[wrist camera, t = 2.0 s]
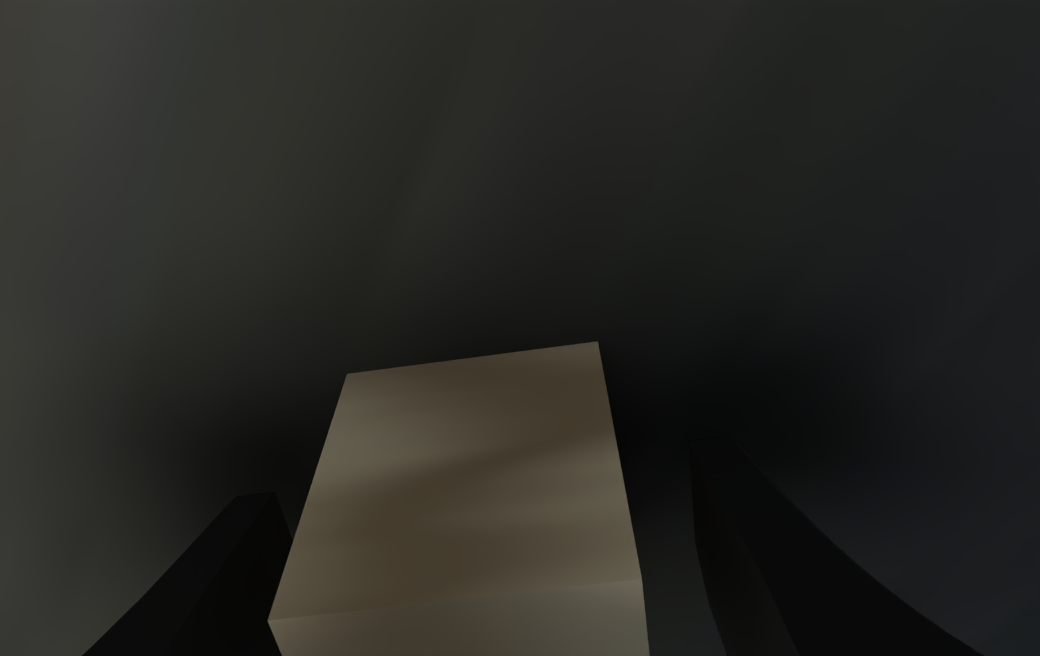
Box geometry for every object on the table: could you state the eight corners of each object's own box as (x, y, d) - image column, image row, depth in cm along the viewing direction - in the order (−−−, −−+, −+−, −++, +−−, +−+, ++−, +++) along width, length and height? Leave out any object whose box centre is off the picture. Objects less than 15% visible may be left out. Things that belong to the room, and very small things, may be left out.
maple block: (597, 340, 13) (641, 579, 9) (619, 531, 15) (664, 805, 11) (348, 372, 13) (268, 621, 9) (401, 556, 15) (356, 835, 11)
